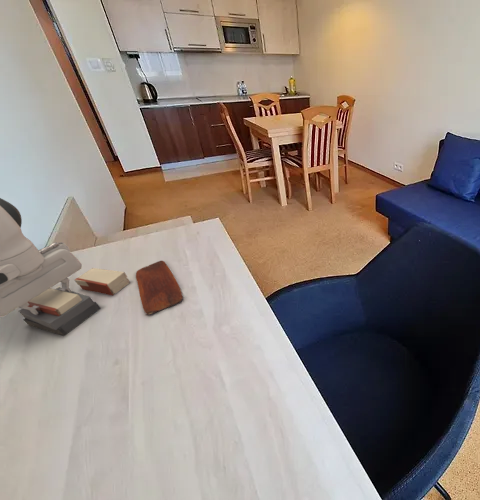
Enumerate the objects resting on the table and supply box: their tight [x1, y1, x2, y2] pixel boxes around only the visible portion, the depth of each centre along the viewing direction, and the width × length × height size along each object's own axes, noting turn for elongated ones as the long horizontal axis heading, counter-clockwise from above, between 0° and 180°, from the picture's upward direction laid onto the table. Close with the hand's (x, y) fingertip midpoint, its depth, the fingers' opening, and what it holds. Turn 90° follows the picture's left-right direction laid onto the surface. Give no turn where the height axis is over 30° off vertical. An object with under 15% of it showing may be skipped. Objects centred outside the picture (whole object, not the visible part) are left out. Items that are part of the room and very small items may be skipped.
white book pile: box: [74, 267, 131, 297], centre depth 93 cm, size 13×7×4 cm, turn 73°
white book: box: [27, 287, 82, 316], centre depth 80 cm, size 13×6×2 cm, turn 73°
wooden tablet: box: [135, 260, 184, 316], centre depth 92 cm, size 27×10×2 cm, turn 37°
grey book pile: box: [17, 286, 101, 337], centre depth 82 cm, size 15×11×5 cm
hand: (53, 302), depth 81 cm, fingers closed on white book, 6 cm apart
